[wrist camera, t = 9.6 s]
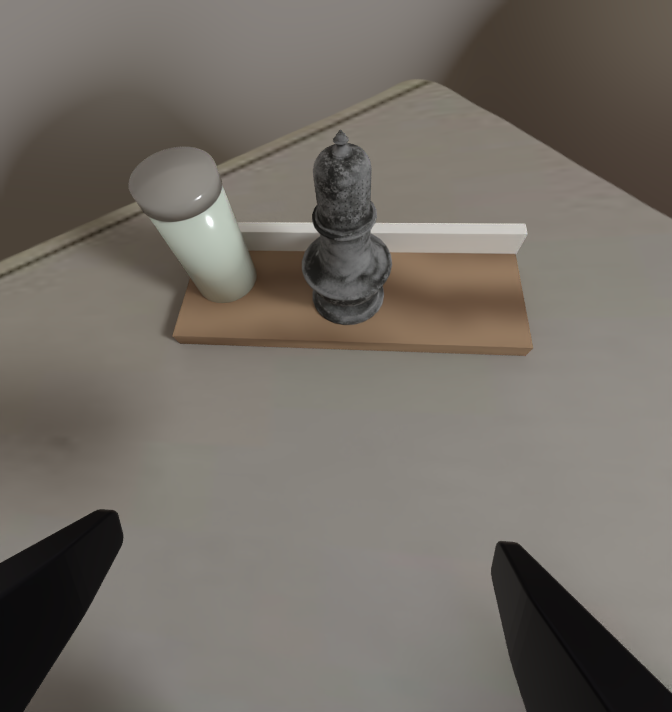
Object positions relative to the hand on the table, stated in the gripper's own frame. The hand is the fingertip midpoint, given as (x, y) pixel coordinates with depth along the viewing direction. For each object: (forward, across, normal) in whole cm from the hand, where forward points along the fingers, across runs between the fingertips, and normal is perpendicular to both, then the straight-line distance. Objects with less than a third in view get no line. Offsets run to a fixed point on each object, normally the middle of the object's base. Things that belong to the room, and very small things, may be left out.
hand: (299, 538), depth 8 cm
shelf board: (+21, 0, -2) cm, 21 cm away
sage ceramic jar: (+21, +10, -3) cm, 23 cm away
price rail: (+24, 0, -5) cm, 24 cm away
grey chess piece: (+20, 0, -2) cm, 20 cm away
